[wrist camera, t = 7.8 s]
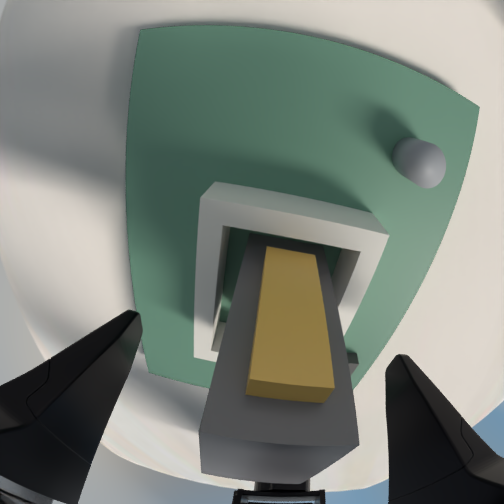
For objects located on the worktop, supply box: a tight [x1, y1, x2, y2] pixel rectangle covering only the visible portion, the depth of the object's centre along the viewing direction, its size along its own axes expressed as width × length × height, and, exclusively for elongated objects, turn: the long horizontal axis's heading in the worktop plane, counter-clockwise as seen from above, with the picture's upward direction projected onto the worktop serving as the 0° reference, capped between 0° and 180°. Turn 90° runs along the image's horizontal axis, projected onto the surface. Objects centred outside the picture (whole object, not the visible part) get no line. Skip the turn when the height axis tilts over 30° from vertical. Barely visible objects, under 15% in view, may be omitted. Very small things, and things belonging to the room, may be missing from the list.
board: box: [126, 25, 480, 389], centre depth 11 cm, size 20×14×3 cm
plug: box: [199, 233, 359, 484], centre depth 9 cm, size 6×3×8 cm, turn 172°
